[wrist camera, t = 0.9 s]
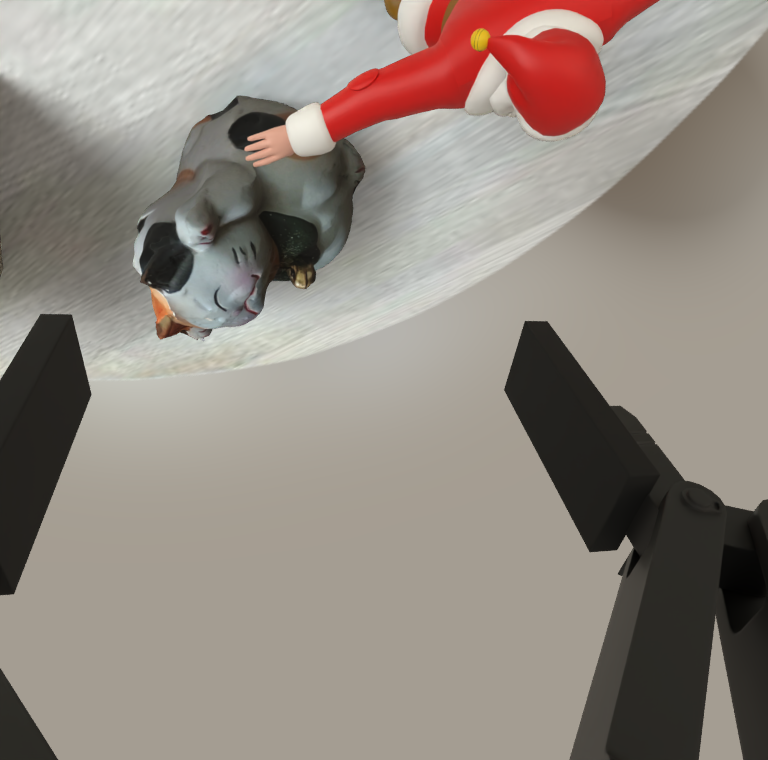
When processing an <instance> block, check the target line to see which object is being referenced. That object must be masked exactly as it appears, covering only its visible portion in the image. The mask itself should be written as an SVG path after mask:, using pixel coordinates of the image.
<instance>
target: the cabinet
mask: <svg viewBox="0 0 768 760" xmlns="http://www.w3.org/2000/svg"><path fill="white" fill-rule="evenodd" d="M2 270H3V263H2V251H1V238H0V276H1V274H2Z"/></svg>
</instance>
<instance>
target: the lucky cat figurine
mask: <svg viewBox="0 0 768 760" xmlns="http://www.w3.org/2000/svg"><path fill="white" fill-rule="evenodd" d="M297 111H298V110H296V109H294V108H292V107H289V106H288V105H285V104H284V103H283V104H282V103H278V102H275V101H269V100H263V99H256V98H251V97H247V96H237V97H236V98H235V99H234V100H233V101H232V102H231V103H230V104H229V105H228V106H227V107H226V108H225V109H224V110H223V111H221V112H218V113H216V114H213V115H208V116H206V117H205V118H204V119H203V120H201V121H200V122H198V123H197V124H196V125H195V126H194V127H193V128H192V130H191V131H190V133H189V136H188V138H187V141H186V143H185V145H184V148H183V152H182V156H181V160H180V165H179V169H178V173H177V181H176V183H175V184H174V186H173V187H172V189H171V190H170V191H169V192H167V193H166V194H165V195H163V196H162V197H161V198H159V199H158V200H157V201H155V202H154V203H152V204H151V205H150V206H149V207H148V208H147V209H146V210H145V211H144V213H143V214H142V216H141V217H140V219H139V221H138V224H137V229H138V237H137V239H136V240H135V243H134V251H135V256H134V259H133V266H134V267H135V269H136V270H137V271H138V273H140V274H141V275H142V276H141V280H140V282H141V283H143V284H146V285H148V286H149V287H150V290H151V296H152V304H153V308H154V312H155V315H156V317H157V321H156V330H157V335H158V337H159V338H160V339H163V338H167V337H171V336H174V335H177V333H179V332H181V333H184V334H186V335H188V336H190V337H192V338H194V339H196V340H198V339H201V340H202V341H205V340H204V337H207V336H209V335H210V333H211V331H212V329H214V328H221V327H236V326H241V325H244V324H246V323H248V322H249V321H251V320H253V319H254V318H256V317H257V316H258V315H259V314H260V312H261V311H262V309H263V307H264V300H265V294H266V289H267V287H268V285H269V283H270V282H271V281H290V280H291V282H292V283H293V285H294V286H295V287H297V288H300V289H306V288H307V287H309V286H310V284H312V283H313V282H314V281H315V279H316V270H318V269H319V268H322V267H324V266H325V265H326V264H329V262H331V261H332V260H333V259H334V258H335V257H336V256H337V255H338V253H340V251H341V250H342V248H343V247H344V245H345V243H346V241H347V238H348V235H349V232H350V228H351V223H352V215H353V201H352V199H353V193H354V191H355V189H356V187H357V186H358V184H359V183H360V181H361V180H362V179H363V177H364V173H365V165H364V163H363V161H362V158H361V156H360V155H359V153H358V152H357V151H356V149H355V148H354V146H353V145H352V144H351V143H350V142H348V141H347V140H346V139H344V138H343V139H341V140H339V141H337V142H336V144H335V147H334V148H333V149H332V150H331V151H330V152H327V153H324V154H321V155H315V156H307V157H303V156H299V155H297V154H296V153H294V154H293V155H291V156H287V157H284V158H282V159H280V160H278V161H275V162H272V163H270V164H268V165H264V166H260V167H254V166H253V163H254V162H256V161H259V160H262V159H264V158H261V159H256V160H252V161H246V157H247V156H248V155H251V154H254V153H256V152H259V151H261V150H263V149H261V150H253V151H245V147H246V146H248V145H251V144H254V143H257V142H259V141H262V140H264V139H260V140H255V141H248V139H247V138H248V137H249V136H252V135H255V134H258V133H261V132H264V131H267V130H269V129H272V128H275V127H279V126H283V125H286V120H287V118H288V117H289V116H290V115H291V114H293V113H295V112H297ZM264 149H265V148H264ZM265 158H266V157H265Z"/></svg>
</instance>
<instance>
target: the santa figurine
mask: <svg viewBox="0 0 768 760" xmlns="http://www.w3.org/2000/svg"><path fill="white" fill-rule="evenodd" d="M658 1H659V0H384V2H385V6H386V10H387V12H388V13H389V15H390V16H391V17H392V18H393V19H395V20H397V21H398V32H399V37H400V40H401V43H402V44H403V46H404V47H405V49H406V50H407V51H408V52H409V53H410V54H411V55H410V56H408V57H406V58H404V59H401V60H399V61H397V62H395V63H393V64H390V65H388V66H386V67H384V68H381V69H379V70H378V69H376V68H375V69H371V70H369V71H366V72H364V73H362V74H360V75H359V76H357V77H356V78H354V79H353V80H352V81H350V82H349V84H348V85H347V87H346V88H344V89H343V90H341V91H340V92H339V93H337V94H336V95H334V96H333V97H331V98H330V99H328V100H327V101H325V102H324V103H322V104H321V105H320V104H319V103H312V104H309V105H307V106H305V107H303V108H302V109H300V110H298V111H297V112H295V113H293V114H291V115H290V116H289V117H288V118H287V120H286V125H283V126H279V127H275V128H272V129H269V130H267V131H264V132H261V133H258V134H255V135H252V136H249V137H248V138H247V139H248V141H255V140H260V139H264V140H262V141H259V142H257V143H254V144H251V145H248V146H246V147H245V151H253V150H261V149H263V150H261V151H259V152H256V153H254V154H251V155H248V156H247V157H246V161H252V160H256V159H261V158H264V159H262V160H259V161H256V162H254V163H253V166H254V167H260V166H264V165H268V164H270V163H272V162H275V161H278V160H280V159H282V158H284V157H287V156H291V155H293V154H294V153H296V154H297V155H299V156H303V157H307V156H315V155H321V154H324V153H327V152H330V151H331V150H332V149H333V148H334V147H335V144H336V142H337V141H339V140H341V139H343V138H345V137H347V136H349V135H351V134H353V133H355V132H357V131H359V130H362V129H364V128H367V127H369V126H372V125H374V124H377V123H380V122H382V121H385V120H392V119H398V118H402V117H405V116H409V115H413V114H417V113H421V112H426V111H430V110H435V109H459V108H465V112H466V113H468V114H469V115H473V116H479V115H485V114H489V113H491V112H493V111H494V112H495V114H497V115H498V116H509V117H517V118H518V120H519V123H520V125H521V127H522V129H523V130H524V131H525V132H526V133H527V134H528V135H529V136H531V137H533V138H535V139H538V140H541V141H547V142H549V141H560V140H564V139H568V138H570V137H572V136H574V135H576V134H578V133H579V132H581V131H582V130H583V129H585V128H586V127H587V126H588V125H589V124H590V123H591V122H592V120H593V119H594V117H595V115H596V114H597V112H598V109H599V107H600V105H601V104H602V102H603V99H604V96H605V86H606V81H605V76H604V72H603V68H602V65H601V63H600V59H599V56H598V54H599V52H600V51H601V48H602V46H603V45H605V44H606V43H607V42H609V41H610V40H611V39H612V38H613V37H614V35H615V34H616V33H617V32H618V31H619V30H620V29H621V28H622V27H623V26H624V25H625V24H626V23H627V22H628V21H630V20H631V19H633V18H634V17H635V16H637V15H638V14H640V13H641V12H643V11H644V10H646V9H647V8H649V7H650V6H652V5H653V4H655V3H656V2H658ZM264 148H265V149H264ZM265 157H266V158H265Z"/></svg>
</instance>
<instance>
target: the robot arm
mask: <svg viewBox="0 0 768 760" xmlns="http://www.w3.org/2000/svg"><path fill="white" fill-rule="evenodd" d="M504 391H505V392H506V394H507V396H508V398H509V400H510V402H511V404H512V406H513V407H514V410H515V411H516V413H517V415H518V417H519V419H520V421H521V423H522V425H523V427H524V429H525V430H526V432H527V434H528V436H529V438H530V440H531V442H532V444H533V446H534V447H535V449H536V451H537V453H538V455H539V457H540V459H541V461H542V463H543V464H544V466H545V468H546V470H547V472H548V474H549V476H550V478H551V480H552V482H553V483H554V485H555V487H556V489H557V491H558V493H559V495H560V497H561V499H562V500H563V502H564V504H565V506H566V508H567V510H568V512H569V514H570V516H571V518H572V519H573V521H574V523H575V525H576V527H577V529H578V531H579V533H580V535H581V536H582V538H583V540H584V542H585V544H586V546H587V548H588V550H589V552H598V551H611V550H617V549H618V548H619V546H620V544H621V542H622V540H623V539H624V537H625V535H627V537H628V539H629V540H630V542H631V543H632V545H633V547H634V548H633V549H632V551H631V553H630V554H629V556H628V558H627V559H626V561H625V563H624V564H623V566H622V567H621V569H620V571H619V573H618V574H619V575H621V576H622V575H623V577H622V580H621V584H620V587H619V590H618V594H617V598H616V601H615V605H614V608H613V611H612V615H611V618H610V622H609V625H608V628H607V632H606V635H605V639H604V642H603V646H602V649H601V653H600V656H599V660H598V663H597V666H596V670H595V674H594V677H593V680H592V684H591V687H590V691H589V694H588V697H587V701H586V704H585V708H584V711H583V715H582V718H581V722H580V725H579V729H578V732H577V736H576V739H575V742H574V746H573V749H572V753H571V756H570V760H699V752H700V743H701V735H702V726H703V718H704V709H705V700H706V692H707V683H708V674H709V666H710V657H711V649H712V640H713V631H714V622H715V614H716V619H717V624H718V629H719V635H720V640H721V645H722V650H723V656H724V661H725V666H726V671H727V676H728V681H729V687H730V692H731V697H732V703H733V708H734V713H735V718H736V723H737V729H738V734H739V739H740V744H741V750H742V754H743V760H768V500H763V501H762V502H761V503H760V504H759V506H758V507H757V508H756V509H755V511H748V510H744V509H739V508H735V507H730V506H725V505H724V504H723V502H722V501H721V499H720V498H719V497H718V496H717V495H716V494H714V493H713V492H712V491H711V490H709V489H707V488H705V487H704V486H702V485H700V484H696V483H693V482H690V481H685V480H684V479H683V477H682V476H681V475H680V474H679V472H678V471H677V470H676V468H675V467H674V466H673V465H672V463H671V462H670V461H669V459H668V458H667V457H666V455H665V454H664V453H663V452H662V450H661V449H660V448H659V446H657V444H655V441H654V440H653V439H652V437H651V436H650V435H649V434H647V433H646V430H645V428H644V427H643V426H642V424H641V423H640V422H639V421H638V419H637V418H636V417H635V416H633V415H632V414H631V413H629V412H628V411H626V410H625V409H624V408H623V407H621V406H609V404H608V403H607V402H606V400H605V399H604V398H603V396H602V395H601V393H600V392H599V391H598V389H597V388H596V387H595V385H594V384H593V383H592V381H591V380H590V379H589V377H588V376H587V374H586V373H585V372H584V370H583V369H582V368H581V366H580V365H579V364H578V362H577V361H576V360H575V358H574V357H573V355H572V354H571V353H570V352H569V350H568V349H567V347H566V346H565V345H564V343H563V342H562V341H561V339H560V338H559V336H558V335H557V334H556V332H555V331H554V330H553V328H552V327H551V326H550V324H549V323H548V322H547V321H545V322H544V321H525V323H524V326H523V329H522V333H521V336H520V339H519V343H518V346H517V349H516V352H515V356H514V359H513V363H512V366H511V369H510V373H509V376H508V379H507V382H506V386H505V389H504ZM90 397H91V391H90V386H89V382H88V378H87V374H86V370H85V366H84V362H83V358H82V354H81V350H80V346H79V342H78V338H77V334H76V330H75V326H74V321H73V317H72V315H68V314H40V316H39V318H38V319H37V321H36V322H35V324H34V326H33V327H32V329H31V331H30V332H29V334H28V336H27V337H26V339H25V341H24V342H23V344H22V345H21V347H20V349H19V350H18V352H17V354H16V355H15V357H14V359H13V360H12V362H11V364H10V365H9V367H8V368H7V370H6V372H5V373H4V375H3V377H2V378H1V380H0V595H10V594H14V593H15V590H16V587H17V584H18V582H19V580H20V577H21V575H22V572H23V569H24V567H25V564H26V562H27V559H28V557H29V554H30V551H31V549H32V546H33V544H34V541H35V539H36V536H37V533H38V531H39V528H40V526H41V523H42V521H43V518H44V515H45V513H46V510H47V508H48V505H49V503H50V500H51V497H52V495H53V492H54V490H55V487H56V484H57V482H58V479H59V476H60V474H61V472H62V469H63V467H64V464H65V461H66V459H67V456H68V454H69V451H70V448H71V446H72V443H73V440H74V438H75V436H76V433H77V430H78V428H79V425H80V423H81V420H82V418H83V415H84V412H85V410H86V407H87V404H88V402H89V400H90ZM0 760H58V759H57V758H56V756H55V754H54V752H53V751H52V749H51V748H50V746H49V745H48V743H47V741H46V740H45V738H44V737H43V735H42V734H41V732H40V730H39V729H38V727H37V726H36V724H35V723H34V721H33V719H32V718H31V716H30V715H29V713H28V711H27V710H26V708H25V707H24V705H23V703H22V702H21V701H20V699H19V697H18V696H17V694H16V692H15V691H14V689H13V688H12V686H11V684H10V683H9V681H8V680H7V678H6V677H5V675H4V674H3V672H2V670H1V669H0Z"/></svg>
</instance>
